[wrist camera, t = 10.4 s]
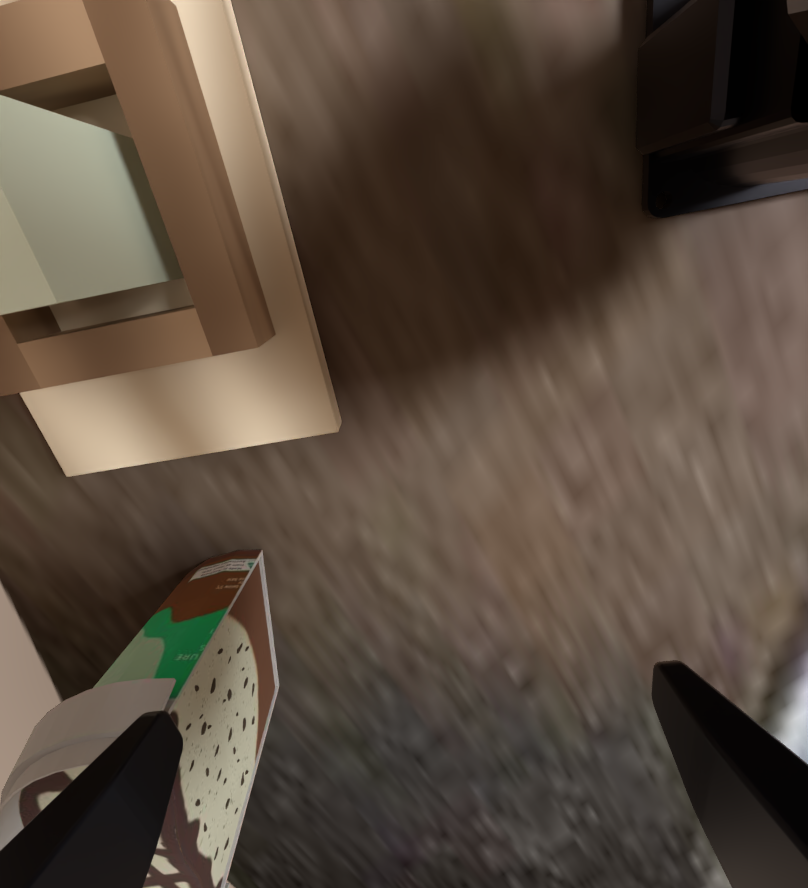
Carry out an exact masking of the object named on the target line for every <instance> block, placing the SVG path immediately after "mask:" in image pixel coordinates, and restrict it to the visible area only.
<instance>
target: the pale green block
mask: <svg viewBox="0 0 808 888" xmlns="http://www.w3.org/2000/svg"><path fill="white" fill-rule="evenodd" d="M181 278H184V276H183V274H182V271H181V268H180V265H179V263H178V260H177V257H176V254H175V252H174V249H173V246H172V244H171V241H170V238H169V235H168V233H167V230H166V227H165V225H164V222H163V219H162V216H161V214H160V211H159V208H158V205H157V203H156V200H155V197H154V195H153V192H152V189H151V186H150V184H149V181H148V178H147V176H146V173H145V170H144V167H143V165H142V162H141V159H140V156H139V154H138V151H137V148H136V146H135V143H134V140H133V138H130V137H127V136H124V135H121V134H118V133H115V132H112V131H109V130H106V129H103V128H100V127H97V126H94V125H90V124H87V123H84V122H81V121H78V120H75V119H72V118H69V117H66V116H63V115H60V114H57V113H54V112H51V111H48V110H45V109H42V108H39V107H36V106H33V105H30V104H27V103H24V102H21V101H18V100H15V99H11V98H8V97H5V96H2V95H0V315H5V314H10V313H15V312H20V311H25V310H29V309H34V308H39V307H44V306H49V305H54V304H59V303H64V302H69V301H74V300H79V299H84V298H89V297H94V296H99V295H103V294H108V293H113V292H118V291H123V290H128V289H132V288H137V287H142V286H147V285H152V284H157V283H162V282H166V281H171V280H176V279H181Z"/></svg>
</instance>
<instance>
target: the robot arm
mask: <svg viewBox="0 0 808 888" xmlns="http://www.w3.org/2000/svg"><path fill="white" fill-rule="evenodd" d="M636 148H637V149H638V150H639V152H640V153H641V154H643V181H642V208H643V211H644V213H645V214H646V216H648V217H650V218H665V217H670V216H675V215H680V214H685V213H690V212H695V211H700V210H705V209H710V208H715V207H720V206H725V205H730V204H735V203H740V202H745V201H750V200H755V199H760V198H765V197H770V196H775V195H780V194H785V193H790V192H794V191H799V190H804V189H808V0H647V17H646V40H645V41H644V42H643V44H642V45H641V47H640V48H639V50H638V68H637V122H636ZM660 193H664V194H665V196H666V202H665V205H664V206H663V207H662V208H661V209H659V208H658V207H656V198H657V196H658V195H659V194H660ZM652 700H653V704H654V707H655V710H656V713H657V715H658V718H659V721H660V723H661V726H662V728H663V731H664V734H665V736H666V739H667V741H668V744H669V747H670V749H671V752H672V754H673V757H674V760H675V762H676V765H677V767H678V770H679V773H680V775H681V778H682V780H683V783H684V786H685V788H686V791H687V793H688V796H689V798H690V801H691V803H692V806H693V808H694V810H695V813H696V815H697V817H698V819H699V821H700V823H701V825H702V828H703V830H704V832H705V834H706V836H707V838H708V840H709V842H710V844H711V846H712V848H713V850H714V852H715V854H716V856H717V858H718V860H719V862H720V864H721V866H722V868H723V870H724V872H725V874H726V876H727V878H728V880H729V882H730V884H731V886H732V888H808V764H807V763H806V762H805V761H803V760H802V759H801V758H800V757H798V756H797V755H796V754H795V753H794V752H792V751H791V750H790V749H789V748H787V747H786V746H785V745H784V744H782V743H781V742H780V741H779V740H778V739H776V738H775V737H774V736H773V735H771V734H770V733H769V732H768V731H767V730H765V729H764V728H763V727H762V726H760V725H759V724H758V723H757V722H755V721H754V720H753V719H752V718H751V717H749V716H748V715H747V714H746V713H744V712H743V711H742V710H741V709H740V708H738V707H737V706H736V705H735V704H733V703H732V702H731V701H730V700H728V699H727V698H726V697H725V696H724V695H722V694H721V693H720V692H719V691H717V690H716V689H715V688H714V687H713V686H711V685H710V684H709V683H708V682H706V681H705V680H704V679H703V678H701V677H700V676H699V675H698V674H697V673H695V672H694V671H693V670H692V669H690V668H689V667H688V666H687V665H685V664H684V663H682V662H680V661H677V660H673V661H663V662H657V663H656V664H655V665H654V668H653V681H652ZM182 750H183V737H182V735H181V733H180V731H179V729H178V728H177V726H176V724H175V723H174V721H173V719H172V717H171V716H170V714H169V713H168V712H167V711H164V710H162V711H152V712H146V713H144V714H142V715H141V716H140V717H138V718H137V719H136V720H135V721H134V722H133V723H132V724H131V725H130V726H129V727H128V728H127V729H126V730H125V731H124V732H123V733H122V734H121V735H120V736H119V737H118V738H117V739H116V740H115V741H114V742H112V743H111V744H110V745H109V746H108V747H107V748H106V749H105V750H104V751H103V752H102V753H101V754H100V755H99V756H98V757H97V758H96V759H95V760H94V761H93V762H92V763H91V764H90V765H89V766H88V767H87V768H85V769H84V770H83V771H82V772H81V773H80V774H79V775H78V776H77V777H76V778H75V779H74V780H73V781H72V782H71V783H70V784H69V785H68V786H67V787H66V788H65V789H64V790H63V791H62V792H61V793H59V794H58V795H57V796H56V797H55V798H54V799H53V800H52V801H51V802H50V803H49V804H48V805H47V806H46V807H45V808H44V809H43V810H42V811H41V812H40V813H39V814H38V815H37V816H36V817H35V818H34V819H32V820H31V821H30V822H29V823H28V824H27V825H26V826H25V827H24V828H23V829H22V830H21V831H20V832H19V833H18V834H17V835H16V836H15V837H14V838H13V839H12V840H11V841H10V842H9V843H8V844H7V845H5V846H4V847H3V848H2V849H1V850H0V888H143V885H144V883H145V880H146V877H147V874H148V871H149V868H150V866H151V863H152V860H153V857H154V854H155V851H156V848H157V844H158V841H159V838H160V834H161V831H162V827H163V823H164V819H165V816H166V812H167V808H168V804H169V800H170V797H171V793H172V789H173V785H174V781H175V778H176V774H177V770H178V766H179V762H180V758H181V755H182Z"/></svg>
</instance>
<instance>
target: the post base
mask: <svg viewBox="0 0 808 888" xmlns="http://www.w3.org/2000/svg"><path fill="white" fill-rule="evenodd" d="M0 95H2V96H5V97H8V98H11V99H15V100H18V101H21V102H24V103H27V104H30V105H33V106H36V107H39V108H42V109H45V110H48V111H51V112H54V113H57V114H60V115H63V116H66V117H69V118H72V119H75V120H78V121H81V122H84V123H87V124H90V125H94V126H97V127H100V128H103V129H106V130H109V131H112V132H115V133H118V134H121V135H124V136H127V137H130V138H133V140H134V143H135V146H136V148H137V151H138V154H139V156H140V159H141V162H142V165H143V167H144V170H145V173H146V176H147V178H148V181H149V184H150V186H151V189H152V192H153V195H154V197H155V200H156V203H157V205H158V208H159V211H160V214H161V216H162V219H163V222H164V225H165V227H166V230H167V233H168V235H169V238H170V241H171V244H172V246H173V249H174V252H175V254H176V257H177V260H178V263H179V265H180V268H181V271H182V274H183V276H184V278H181V279H176V280H171V281H166V282H162V283H157V284H152V285H147V286H142V287H137V288H132V289H128V290H123V291H118V292H113V293H108V294H103V295H99V296H94V297H89V298H84V299H79V300H74V301H69V302H64V303H59V304H54V305H49V306H44V307H39V308H34V309H29V310H25V311H20V312H15V313H10V314H5V315H0V396H6V395H11V394H16V393H20V395H21V397H22V398H23V400H24V402H25V404H26V406H27V407H28V409H29V411H30V413H31V414H32V416H33V418H34V420H35V422H36V423H37V425H38V427H39V429H40V430H41V432H42V434H43V436H44V437H45V439H46V441H47V443H48V445H49V446H50V448H51V450H52V452H53V453H54V455H55V457H56V459H57V460H58V462H59V464H60V466H61V468H62V469H63V471H64V473H65V475H66V476H67V477H69V476H75V475H81V474H87V473H94V472H100V471H106V470H112V469H118V468H124V467H130V466H136V465H142V464H148V463H154V462H160V461H166V460H172V459H178V458H184V457H190V456H196V455H202V454H208V453H214V452H220V451H226V450H232V449H238V448H244V447H250V446H256V445H262V444H268V443H274V442H280V441H286V440H292V439H298V438H304V437H310V436H316V435H322V434H328V433H334V432H338V431H339V428H340V426H341V423H342V420H341V416H340V413H339V409H338V405H337V401H336V397H335V394H334V390H333V386H332V382H331V379H330V375H329V371H328V367H327V363H326V360H325V356H324V352H323V348H322V345H321V341H320V337H319V333H318V329H317V326H316V322H315V318H314V314H313V311H312V307H311V303H310V299H309V295H308V292H307V288H306V284H305V280H304V276H303V273H302V269H301V265H300V261H299V258H298V254H297V250H296V246H295V242H294V239H293V235H292V231H291V227H290V224H289V220H288V216H287V212H286V208H285V205H284V201H283V197H282V193H281V189H280V186H279V182H278V178H277V174H276V171H275V167H274V163H273V159H272V155H271V152H270V148H269V144H268V140H267V137H266V133H265V129H264V125H263V121H262V118H261V114H260V110H259V106H258V102H257V99H256V95H255V91H254V87H253V84H252V80H251V76H250V72H249V68H248V65H247V61H246V57H245V53H244V50H243V46H242V42H241V38H240V34H239V31H238V27H237V23H236V19H235V15H234V12H233V8H232V4H231V0H0Z"/></svg>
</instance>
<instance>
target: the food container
mask: <svg viewBox="0 0 808 888" xmlns="http://www.w3.org/2000/svg"><path fill="white" fill-rule="evenodd" d="M278 689H279V680H278V672H277V664H276V656H275V648H274V640H273V632H272V624H271V616H270V608H269V600H268V592H267V584H266V576H265V568H264V560H263V552H262V549H261V550H237V551H233V552H230V553H226V554H223V555H219V556H216V557H212V558H209V559H208V560H206V561H205V562H203V563H202V564H200V565H199V566H197V567H196V568H194V569H193V570H192V571H190V572H189V573H187V575H186V576H185V577H184V578H183V579H182V581H181V582H180V583H179V584H178V586H177V587H176V588H175V589H174V590H173V592H172V593H171V594H170V595H169V596H168V598H167V599H166V600H165V601H164V603H163V604H162V605H161V606H160V607H159V609H158V610H157V611H156V612H155V613H154V615H153V616H152V617H151V618H150V620H149V621H148V622H147V623H146V624H145V626H144V627H143V628H142V629H141V630H140V632H139V633H138V634H137V635H136V636H135V638H134V639H133V640H132V641H131V643H130V644H129V645H128V646H127V647H126V649H125V650H124V651H123V652H122V653H121V655H120V656H119V657H118V658H117V660H116V661H115V662H114V663H113V664H112V666H111V667H110V668H109V669H108V670H107V672H106V673H105V674H104V675H103V677H102V678H101V679H100V680H99V681H98V683H97V684H96V685H95V686H94V687H93V689H89V690H86V691H84V692H82V693H80V694H77V695H75V696H73V697H71V698H69V699H66V700H65V701H63V702H62V703H60V704H59V705H57V706H56V707H55V708H53V709H52V710H50V711H49V712H47V714H46V715H45V716H44V717H43V718H42V719H41V720H40V722H39V723H38V724H37V725H36V726H35V728H34V730H33V732H32V734H31V735H30V737H29V739H28V741H27V743H26V745H25V747H24V749H23V751H22V753H21V755H20V757H19V759H18V760H17V762H16V764H15V766H14V768H13V770H12V772H11V774H10V776H9V778H8V780H7V782H6V784H5V786H4V788H3V791H2V795H1V803H0V850H1V849H2V848H3V847H4V846H5V845H7V844H8V843H9V842H10V841H11V840H12V839H13V838H14V837H15V836H16V835H17V834H18V833H19V832H20V831H21V830H22V829H23V828H24V827H25V826H26V825H27V824H28V823H29V822H30V821H31V820H32V819H34V818H35V817H36V816H37V815H38V814H39V813H40V812H41V811H42V810H43V809H44V808H45V807H46V806H47V805H48V804H49V803H50V802H51V801H52V800H53V799H54V798H55V797H56V796H57V795H58V794H59V793H61V792H62V791H63V790H64V789H65V788H66V787H67V786H68V785H69V784H70V783H71V782H72V781H73V780H74V779H75V778H76V777H77V776H78V775H79V774H80V773H81V772H82V771H83V770H84V769H85V768H87V767H88V766H89V765H90V764H91V763H92V762H93V761H94V760H95V759H96V758H97V757H98V756H99V755H100V754H101V753H102V752H103V751H104V750H105V749H106V748H107V747H108V746H109V745H110V744H111V743H112V742H114V741H115V740H116V739H117V738H118V737H119V736H120V735H121V734H122V733H123V732H124V731H125V730H126V729H127V728H128V727H129V726H130V725H131V724H132V723H133V722H134V721H135V720H136V719H137V718H138V717H140V716H141V715H142V714H144V713H146V712H152V711H162V710H164V711H167V712H168V713H169V714H170V716H171V717H172V719H173V721H174V723H175V724H176V726H177V728H178V729H179V731H180V733H181V735H182V737H183V750H182V755H181V758H180V762H179V766H178V770H177V774H176V778H175V781H174V785H173V789H172V793H171V797H170V800H169V804H168V808H167V812H166V816H165V819H164V823H163V827H162V831H161V834H160V838H159V841H158V844H157V848H156V851H155V854H154V857H153V860H152V863H151V866H150V868H149V871H148V874H147V877H146V880H145V883H144V885H143V888H229V883H226V881H227V877H228V874H229V870H230V866H231V863H232V859H233V855H234V851H235V848H236V844H237V840H238V837H239V833H240V829H241V826H242V822H243V818H244V814H245V811H246V807H247V803H248V800H249V796H250V792H251V789H252V785H253V781H254V778H255V774H256V770H257V766H258V763H259V759H260V755H261V752H262V748H263V744H264V741H265V737H266V733H267V730H268V726H269V722H270V718H271V715H272V711H273V707H274V704H275V700H276V696H277V693H278Z"/></svg>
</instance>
